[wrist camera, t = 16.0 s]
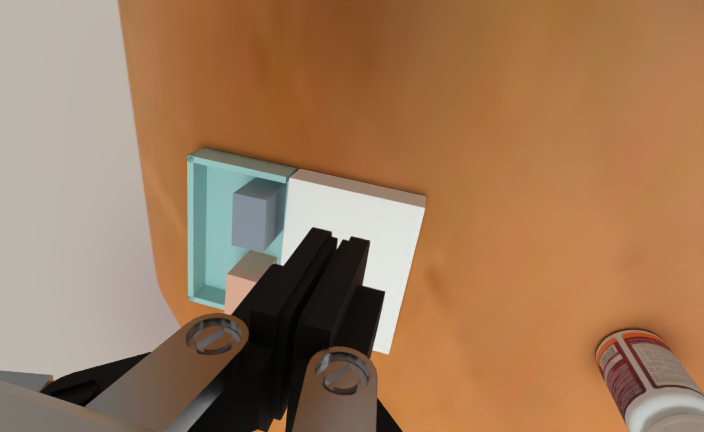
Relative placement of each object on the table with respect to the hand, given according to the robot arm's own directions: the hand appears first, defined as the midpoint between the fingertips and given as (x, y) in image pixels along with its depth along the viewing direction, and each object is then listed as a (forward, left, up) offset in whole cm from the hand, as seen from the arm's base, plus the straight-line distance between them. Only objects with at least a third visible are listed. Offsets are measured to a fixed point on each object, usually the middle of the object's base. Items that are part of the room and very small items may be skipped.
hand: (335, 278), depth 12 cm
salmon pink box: (+10, +18, -23) cm, 31 cm away
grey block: (+10, +10, -23) cm, 27 cm away
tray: (+14, +14, -26) cm, 33 cm away
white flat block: (+3, +14, -26) cm, 29 cm away
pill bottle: (-25, +17, -26) cm, 40 cm away
